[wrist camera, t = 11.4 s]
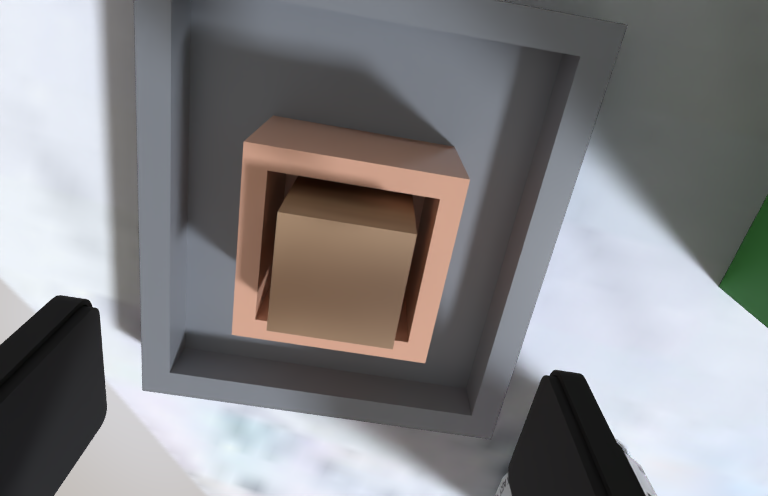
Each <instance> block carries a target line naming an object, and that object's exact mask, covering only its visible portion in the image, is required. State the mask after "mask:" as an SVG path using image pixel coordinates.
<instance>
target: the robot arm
mask: <svg viewBox="0 0 768 496" xmlns="http://www.w3.org/2000/svg"><path fill="white" fill-rule="evenodd" d="M106 411H107V402H106V389H105V376H104V364H103V351H102V338H101V325H100V314H99V310H98V309H97V308H93V307H92V304H91V302H90V301H89V300H87V299H81V298H75V297H68V296H61V295H59V296H56V297H54V298H53V299H51V300H50V301H49V302H48V303H47V304H46V305H45V306H44V307H42V308H41V309H40V310H39V311H38V312H37V313H36V314H35V315H33V316H32V317H31V318H30V319H29V320H28V321H27V322H26V323H25V324H23V325H22V326H21V327H20V328H19V329H18V330H17V331H16V332H14V333H13V334H12V335H11V336H10V337H9V338H8V339H7V340H5V341H4V342H3V343H2V344H1V345H0V496H54V495H55V493H56V492H57V490H58V489H59V487H60V486H61V484H62V483H63V481H64V480H65V479H66V477H67V476H68V474H69V473H70V471H71V470H72V468H73V467H74V465H75V464H76V462H77V461H78V459H79V458H80V456H81V455H82V454H83V452H84V450H85V449H86V448H87V446H88V444H89V443H90V441H91V440H92V439H93V437H94V435H95V434H96V433H97V431H98V430H99V429H100V427H101V425H102V423H103V421H104V419H105V416H106ZM508 480H509V486H510V490H511V494H512V496H646V495H645V493H644V491H643V489H642V487H641V485H640V483H639V481H638V479H637V477H636V475H635V473H634V471H633V469H632V467H631V465H630V463H629V461H628V459H627V457H626V455H625V453H624V451H623V450H622V448H621V447H620V445H618V444H617V442H616V440H615V438H614V436H613V434H612V432H611V430H610V428H609V426H608V424H607V422H606V420H605V418H604V416H603V414H602V412H601V410H600V408H599V406H598V404H597V402H596V400H595V398H594V396H593V394H592V392H591V389H590V387H589V385H588V383H587V381H586V379H585V378H584V376H583V375H582V374H580V373H573V372H566V371H560V370H554V371H553V372H552V373H551V374H550V376H547V375H545V376H543V377H542V379H541V381H540V384H539V387H538V389H537V392H536V395H535V397H534V400H533V403H532V405H531V408H530V411H529V413H528V416H527V419H526V421H525V424H524V426H523V429H522V432H521V434H520V437H519V440H518V442H517V445H516V448H515V450H514V453H513V456H512V458H511V461H510V464H509V469H508Z"/></svg>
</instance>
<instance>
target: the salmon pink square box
mask: <svg viewBox="0 0 768 496" xmlns="http://www.w3.org/2000/svg"><path fill="white" fill-rule="evenodd" d="M298 176H304V177H310V178H316V179H322V180H328V181H334V182H340V183H346V184H352V185H358V186H364V187H370V188H376V189H382V190H388V191H394V192H400V193H406V194H412V196H413V205H414V213H415V222H416V230H417V237H416V242H415V246H414V251H413V256H412V260H411V265H410V270H409V275H408V279H407V284H406V289H405V294H404V298H403V303H402V308H401V313H400V317H399V322H398V327H397V331H396V336H395V341H394V346H393V349H387V348H380V347H373V346H366V345H360V344H353V343H346V342H339V341H333V340H326V339H319V338H313V337H306V336H299V335H292V334H286V333H279V332H272V331H267V320H268V309H269V299H270V288H271V277H272V266H273V255H274V245H275V234H276V223H277V212H278V210H279V208H280V207H281V205H282V203H283V201H284V200H285V198H286V196H287V194H288V193H289V191H290V189H291V187H292V185H293V184H294V182H295V180H296V178H297V177H298ZM469 182H470V178H469V176H468V174H467V172H466V170H465V168H464V166H463V164H462V161H461V159H460V157H459V155H458V153H457V151H456V149H455V147H453V146H447V145H442V144H436V143H430V142H424V141H418V140H413V139H407V138H401V137H395V136H389V135H383V134H378V133H372V132H366V131H360V130H354V129H349V128H343V127H337V126H331V125H325V124H320V123H314V122H308V121H302V120H296V119H291V118H285V117H279V116H272V117H271V118H270V119H268V120H267V121H266V122H265V123H264V124H263V125H262V126H261V127H259V128H258V129H257V130H256V131H255V132H254V133H253V134H251V135H250V136H249V137H248V138H247V139H246V140H245V141H244V143H243V159H242V175H241V192H240V208H239V224H238V241H237V257H236V273H235V289H234V306H233V322H232V335H236V336H243V337H250V338H257V339H264V340H270V341H277V342H284V343H291V344H297V345H304V346H311V347H318V348H324V349H331V350H338V351H345V352H352V353H358V354H365V355H372V356H379V357H385V358H392V359H399V360H406V361H412V362H419V363H425V362H426V358H427V354H428V350H429V346H430V342H431V338H432V334H433V329H434V325H435V321H436V317H437V313H438V309H439V305H440V301H441V297H442V293H443V289H444V284H445V280H446V276H447V272H448V268H449V264H450V260H451V256H452V252H453V248H454V244H455V240H456V235H457V231H458V227H459V223H460V219H461V215H462V211H463V207H464V203H465V199H466V195H467V190H468V186H469Z"/></svg>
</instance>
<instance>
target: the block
mask: <svg viewBox="0 0 768 496" xmlns="http://www.w3.org/2000/svg"><path fill="white" fill-rule="evenodd" d="M416 237H417V230H416V222H415V213H414V205H413V196H412V194H406V193H400V192H394V191H388V190H382V189H376V188H370V187H364V186H358V185H352V184H346V183H340V182H334V181H328V180H322V179H316V178H310V177H304V176H298V177H297V178H296V180H295V182H294V184H293V185H292V187H291V189H290V191H289V193H288V194H287V196H286V198H285V200H284V201H283V203H282V205H281V207H280V208H279V210H278V212H277V223H276V234H275V245H274V255H273V266H272V277H271V288H270V299H269V309H268V320H267V331H272V332H279V333H286V334H292V335H299V336H306V337H313V338H319V339H326V340H333V341H339V342H346V343H353V344H360V345H366V346H373V347H380V348H387V349H393V346H394V341H395V336H396V331H397V327H398V322H399V317H400V313H401V308H402V303H403V298H404V294H405V289H406V284H407V279H408V275H409V270H410V265H411V260H412V256H413V251H414V246H415V242H416Z"/></svg>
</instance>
